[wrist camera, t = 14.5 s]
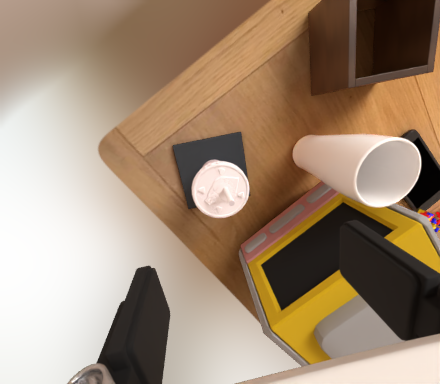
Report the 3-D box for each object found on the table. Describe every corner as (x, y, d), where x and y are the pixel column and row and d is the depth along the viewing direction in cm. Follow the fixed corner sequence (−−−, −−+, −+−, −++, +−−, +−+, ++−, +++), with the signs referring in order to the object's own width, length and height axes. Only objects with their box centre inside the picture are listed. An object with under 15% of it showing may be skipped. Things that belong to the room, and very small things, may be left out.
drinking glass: (335, 153, 35) (434, 176, 20) (302, 181, 35) (373, 222, 21) (313, 119, 32) (405, 119, 18) (278, 150, 33) (339, 173, 19)
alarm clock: (323, 168, 35) (450, 216, 18) (366, 232, 40) (498, 318, 23) (230, 242, 38) (261, 348, 20) (281, 293, 42) (341, 415, 25)
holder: (308, 12, 28) (349, -27, 20) (381, -1, 28) (448, -44, 21) (311, 95, 31) (348, 88, 24) (376, 83, 32) (433, 71, 24)
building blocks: (458, 210, 40) (447, 206, 41) (438, 201, 37) (426, 198, 38) (437, 240, 42) (427, 235, 43) (415, 234, 38) (405, 229, 40)
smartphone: (415, 215, 40) (420, 217, 39) (373, 161, 35) (377, 162, 35) (449, 186, 39) (455, 187, 38) (410, 126, 34) (415, 126, 33)
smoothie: (243, 174, 33) (274, 210, 20) (210, 200, 34) (220, 250, 21) (217, 141, 31) (233, 156, 18) (183, 169, 32) (175, 203, 19)
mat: (172, 145, 31) (172, 145, 31) (240, 131, 32) (241, 132, 31) (188, 207, 35) (188, 209, 34) (249, 194, 35) (250, 196, 35)
